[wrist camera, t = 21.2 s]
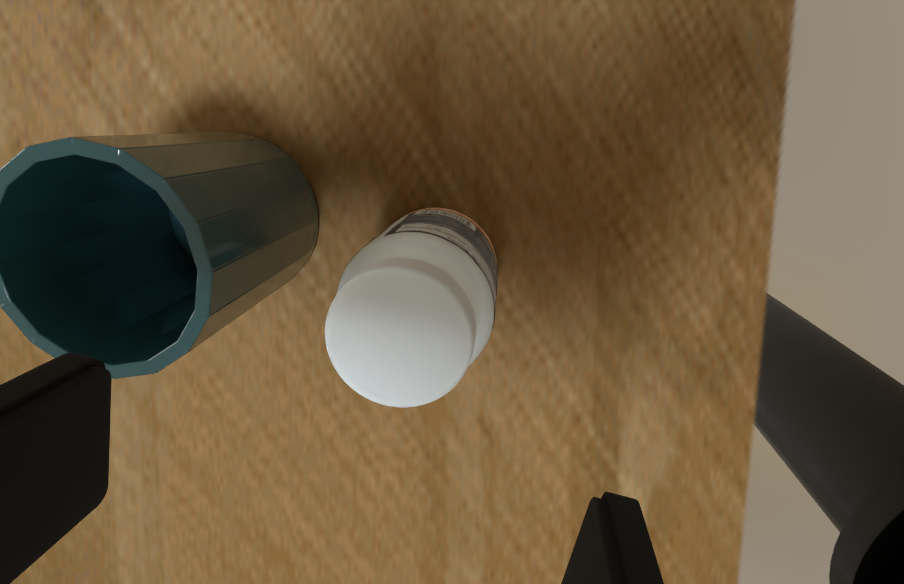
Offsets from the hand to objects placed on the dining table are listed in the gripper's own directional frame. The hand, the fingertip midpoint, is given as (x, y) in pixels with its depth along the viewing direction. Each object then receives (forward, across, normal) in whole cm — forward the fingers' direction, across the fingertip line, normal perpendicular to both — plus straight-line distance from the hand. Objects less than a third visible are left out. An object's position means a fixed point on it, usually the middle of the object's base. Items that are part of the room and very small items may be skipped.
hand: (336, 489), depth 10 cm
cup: (+17, +10, 0) cm, 20 cm away
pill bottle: (+17, +1, 0) cm, 17 cm away
